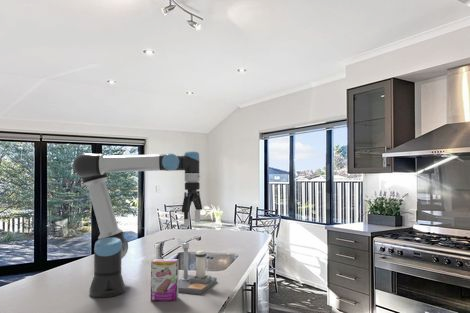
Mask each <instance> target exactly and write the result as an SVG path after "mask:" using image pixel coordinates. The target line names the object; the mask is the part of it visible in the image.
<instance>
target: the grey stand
mask: <svg viewBox="0 0 470 313" xmlns="http://www.w3.org/2000/svg"><path fill="white" fill-rule="evenodd" d="M188 253H189V249H183V277H181V278H179V279H178V293H180V294H181V293H183V294H191V295H202V294H203V293H204V292H205V291H207V290H208V289H210V287H212V286H213V285H214V284H216V283H217V279H218V278H217V277H213V276H212V275H210V274H209V275H207V274H205V279H197V278H196V274H194V275H193V274H192V275H191V274H189V268H188V267H189V266H188V265H189V261H188V260H189V258H188V257H189V254H188Z"/></svg>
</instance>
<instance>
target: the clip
mask: <svg viewBox="0 0 470 313" xmlns="http://www.w3.org/2000/svg"><path fill="white" fill-rule="evenodd" d="M177 245H179V246H180V247H181V248H182V250H184V249H188V250H189V249H190V242H187V241H185V240H183V239H181V238H178V239H177Z"/></svg>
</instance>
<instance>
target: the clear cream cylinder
mask: <svg viewBox="0 0 470 313" xmlns="http://www.w3.org/2000/svg"><path fill="white" fill-rule="evenodd" d="M194 255H195V259H196V260H195V261H196V262H195V265H196V266H195V272H196V273H195V275H196V278H197V279H205V275H206V257H207V253H206V250H197V251H196V252H195V254H194Z"/></svg>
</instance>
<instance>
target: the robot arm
mask: <svg viewBox="0 0 470 313" xmlns="http://www.w3.org/2000/svg"><path fill="white" fill-rule="evenodd" d="M72 163H73V164H72V168H73V171H74V172H75V173H76V175H78V176H79V177H81V180H82V183H83V185H84V186H86V187H87V189H88V194H89V197H90V200H91V205H92V209H93V212H94V216H95V218H96V219H95V220H96V223H97V226H98V229H99V235H98V237H97V240H96V241H95V243H94V248H93V252H94V255H93V256H94V258H93V277H92V281H91V284H90V288H89V296H90V297H92V298H100V299H102V298H103V299H104V298H112V297H117V296H120V295H121V294H124V293H125V291H126V284H125V282H124V278H123V274H122V259H123V258H124V257H125V256H126V255H127V253H128V249H129V243H128V240H127V239H126V238H125V235H124V232H123V230H122V229H121V228H119V226H118V223H117V222H118V221H117V219H116V216H115V211H114V208H113V204H112V200H111V196H110V193H109V190H108V186H107V181H108V174H107V173H123V172H124V173H125V172H131V173H132V172H150V171H151V172H153V171H155V172H156V171H164V172H165V171H167V172H169V171H170V172H171V171H173V172H174V171H184V182H185V183H184V191H185V192H184V194H183V202H182V205H181V206H182V207H181V213H183V226H184V227H190V226H191V225H190V224H191V220H190V219H191V216H190V215H191V214H190V208H191V206H192V204H193V205H194V208H195V210H194V222H195V223H201V210H203V206H202V205H203V204H202V201H201V194H200V191H199V190H200V177H201V175H200V153H199V152H198V151H185V152H184V154H183V155H176V154H174V153H167V154H166V153H165V154H135V155H133V154H132V155H130V154H129V155H104V154H103V153H89V152H85V153H81V154H79V155H77V156H76V157H75V159H74V161H73V162H72Z"/></svg>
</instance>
